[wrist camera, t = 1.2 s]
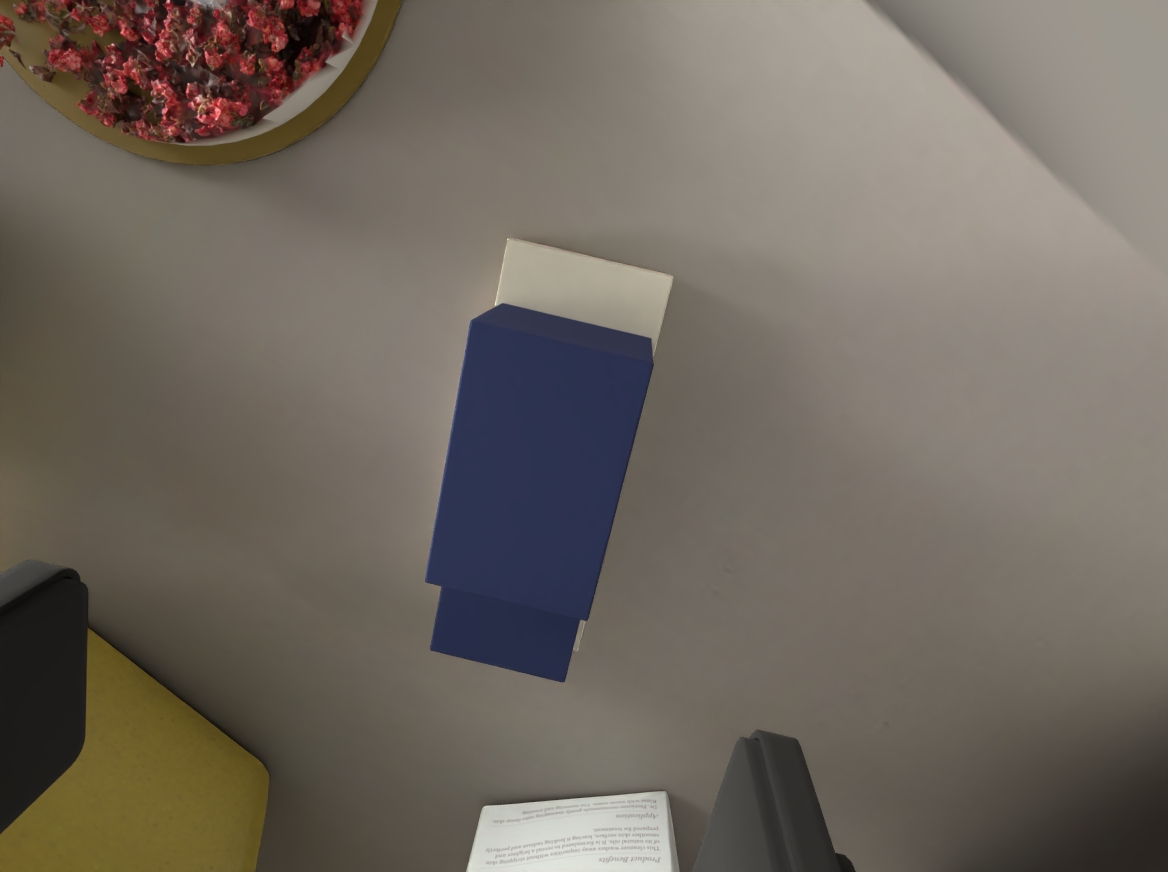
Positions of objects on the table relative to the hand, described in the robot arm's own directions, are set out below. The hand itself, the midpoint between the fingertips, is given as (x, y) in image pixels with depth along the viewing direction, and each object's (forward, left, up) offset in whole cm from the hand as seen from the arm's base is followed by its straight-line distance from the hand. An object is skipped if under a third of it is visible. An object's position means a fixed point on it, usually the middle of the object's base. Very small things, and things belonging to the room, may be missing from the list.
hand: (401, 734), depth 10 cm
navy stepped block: (+1, +1, -16) cm, 16 cm away
